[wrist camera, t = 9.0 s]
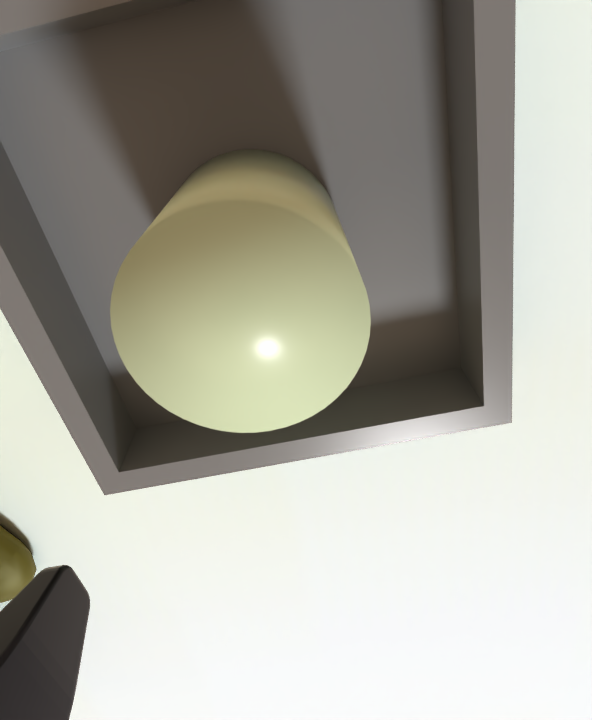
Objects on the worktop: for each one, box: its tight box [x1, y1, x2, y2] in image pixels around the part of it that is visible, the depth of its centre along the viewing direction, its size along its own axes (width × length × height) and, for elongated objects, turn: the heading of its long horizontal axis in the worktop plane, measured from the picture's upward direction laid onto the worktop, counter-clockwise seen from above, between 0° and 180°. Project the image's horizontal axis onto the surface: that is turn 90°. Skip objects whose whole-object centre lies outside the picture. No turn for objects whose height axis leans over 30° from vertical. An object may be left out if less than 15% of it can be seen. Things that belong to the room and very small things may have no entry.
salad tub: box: [110, 149, 371, 433], centre depth 15 cm, size 6×6×7 cm
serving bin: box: [0, 0, 515, 495], centre depth 17 cm, size 16×16×4 cm
